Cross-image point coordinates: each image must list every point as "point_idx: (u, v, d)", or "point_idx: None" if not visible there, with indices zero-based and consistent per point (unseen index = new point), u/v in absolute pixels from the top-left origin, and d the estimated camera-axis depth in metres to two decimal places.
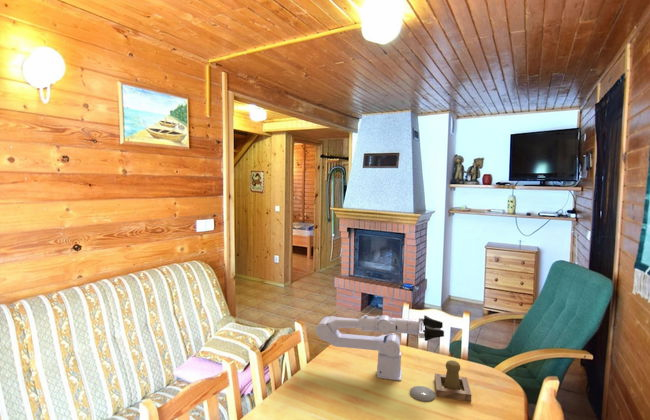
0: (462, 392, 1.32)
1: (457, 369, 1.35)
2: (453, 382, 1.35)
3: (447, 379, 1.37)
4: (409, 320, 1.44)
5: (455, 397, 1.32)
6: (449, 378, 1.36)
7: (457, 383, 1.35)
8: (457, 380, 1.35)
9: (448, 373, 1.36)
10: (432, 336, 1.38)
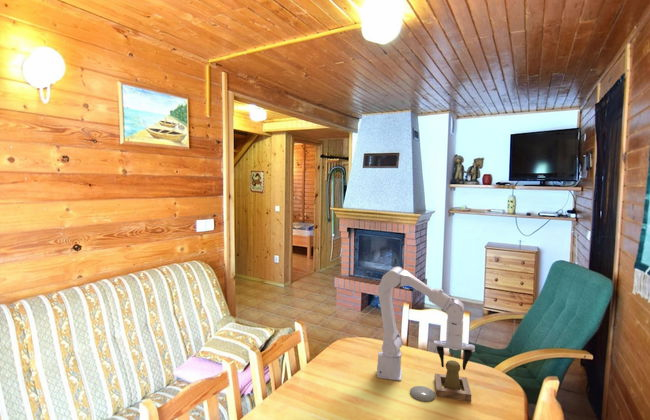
0: (462, 392, 1.32)
1: (457, 369, 1.35)
2: (453, 382, 1.35)
3: (447, 379, 1.37)
4: (453, 337, 1.34)
5: (455, 397, 1.32)
6: (449, 378, 1.36)
7: (457, 383, 1.35)
8: (457, 380, 1.35)
9: (448, 373, 1.36)
10: None
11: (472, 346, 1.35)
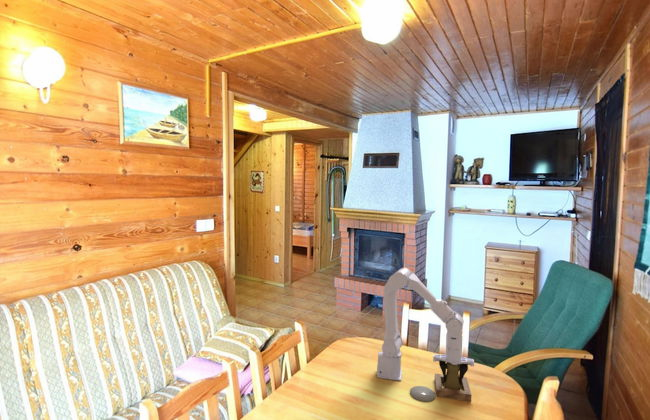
0: (462, 392, 1.32)
1: (457, 369, 1.35)
2: (453, 382, 1.35)
3: (447, 379, 1.37)
4: (452, 351, 1.34)
5: (455, 397, 1.32)
6: (449, 378, 1.36)
7: (457, 383, 1.35)
8: (457, 380, 1.35)
9: (448, 373, 1.36)
10: None
11: (471, 360, 1.35)
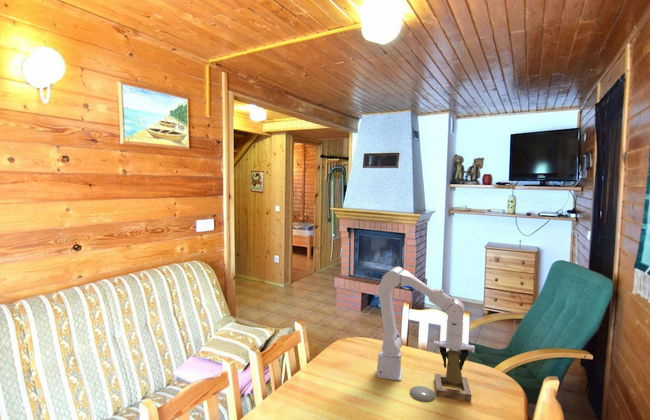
0: (462, 392, 1.32)
1: (457, 358, 1.34)
2: (454, 371, 1.35)
3: (448, 369, 1.36)
4: (453, 337, 1.34)
5: (455, 397, 1.32)
6: (450, 367, 1.35)
7: (459, 372, 1.35)
8: (458, 369, 1.35)
9: (449, 363, 1.36)
10: None
11: (472, 346, 1.35)
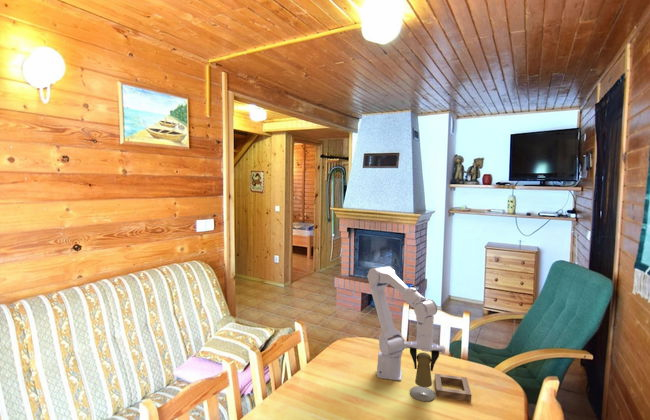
0: (462, 392, 1.32)
1: (427, 361, 1.31)
2: (423, 374, 1.32)
3: (418, 371, 1.33)
4: (423, 337, 1.30)
5: (455, 397, 1.32)
6: (419, 370, 1.33)
7: (428, 376, 1.32)
8: (428, 373, 1.32)
9: (419, 365, 1.33)
10: None
11: (442, 347, 1.31)
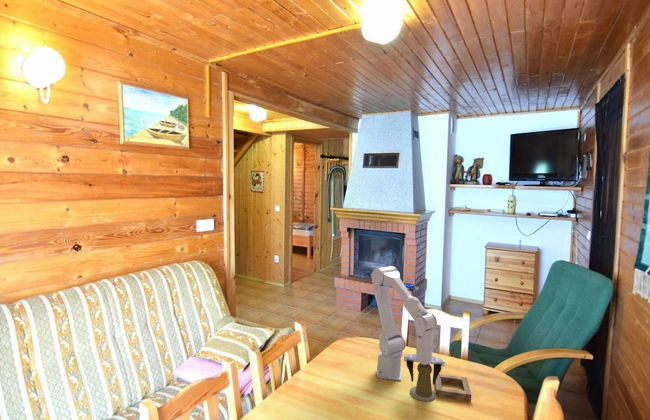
0: (462, 392, 1.32)
1: (428, 371, 1.31)
2: (424, 384, 1.32)
3: (418, 381, 1.33)
4: (422, 351, 1.31)
5: (455, 397, 1.32)
6: (420, 380, 1.33)
7: (428, 386, 1.32)
8: (428, 383, 1.32)
9: (419, 375, 1.33)
10: None
11: (442, 360, 1.32)
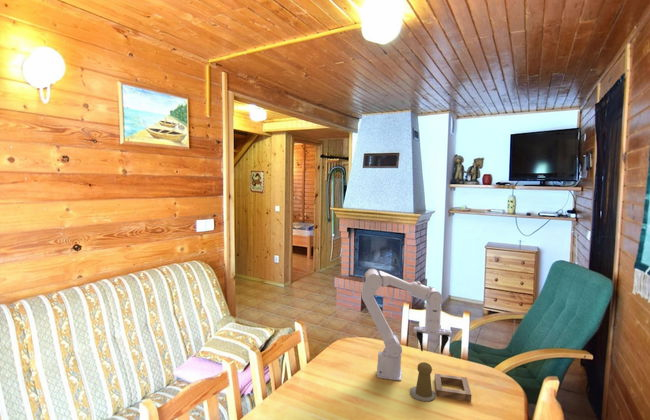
0: (462, 392, 1.32)
1: (428, 371, 1.31)
2: (424, 384, 1.32)
3: (418, 381, 1.33)
4: (431, 322, 1.43)
5: (455, 397, 1.32)
6: (420, 380, 1.33)
7: (428, 386, 1.32)
8: (428, 383, 1.32)
9: (419, 375, 1.33)
10: None
11: (449, 331, 1.44)
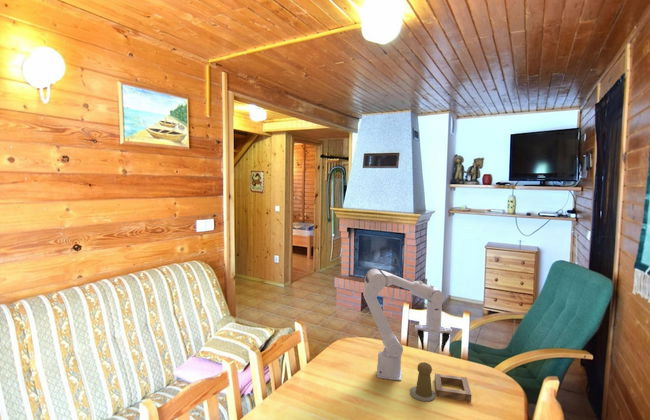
0: (462, 392, 1.32)
1: (428, 371, 1.31)
2: (424, 384, 1.32)
3: (418, 381, 1.33)
4: (432, 321, 1.45)
5: (455, 397, 1.32)
6: (420, 380, 1.33)
7: (428, 386, 1.32)
8: (428, 383, 1.32)
9: (419, 375, 1.33)
10: None
11: (450, 330, 1.46)
